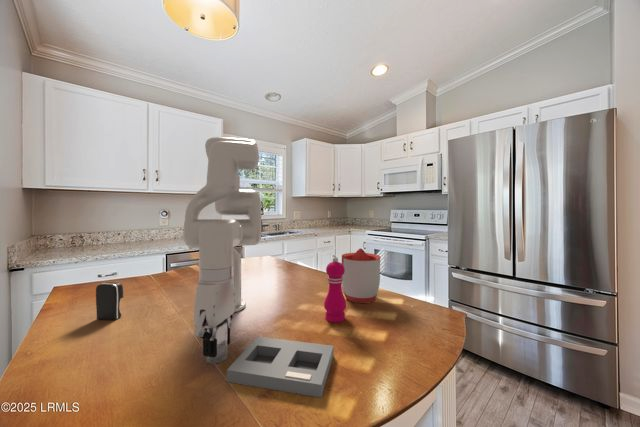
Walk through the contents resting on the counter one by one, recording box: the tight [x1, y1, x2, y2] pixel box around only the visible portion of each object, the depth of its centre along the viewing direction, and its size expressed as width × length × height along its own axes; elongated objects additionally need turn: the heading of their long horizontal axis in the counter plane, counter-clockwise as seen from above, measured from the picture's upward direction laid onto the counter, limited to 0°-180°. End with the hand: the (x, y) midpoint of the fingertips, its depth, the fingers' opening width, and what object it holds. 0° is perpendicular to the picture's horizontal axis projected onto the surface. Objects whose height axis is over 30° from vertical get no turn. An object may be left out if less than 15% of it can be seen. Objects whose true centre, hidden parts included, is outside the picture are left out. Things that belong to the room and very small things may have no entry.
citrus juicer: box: [341, 248, 382, 304], centre depth 101 cm, size 16×17×20 cm
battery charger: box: [95, 281, 124, 321], centre depth 83 cm, size 7×4×11 cm, turn 84°
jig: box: [226, 336, 335, 399], centre depth 57 cm, size 20×14×3 cm
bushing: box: [206, 321, 228, 365], centre depth 61 cm, size 5×5×8 cm
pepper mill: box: [323, 256, 347, 323], centre depth 83 cm, size 7×7×20 cm
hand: (217, 348), depth 61 cm, fingers closed on bushing, 4 cm apart
